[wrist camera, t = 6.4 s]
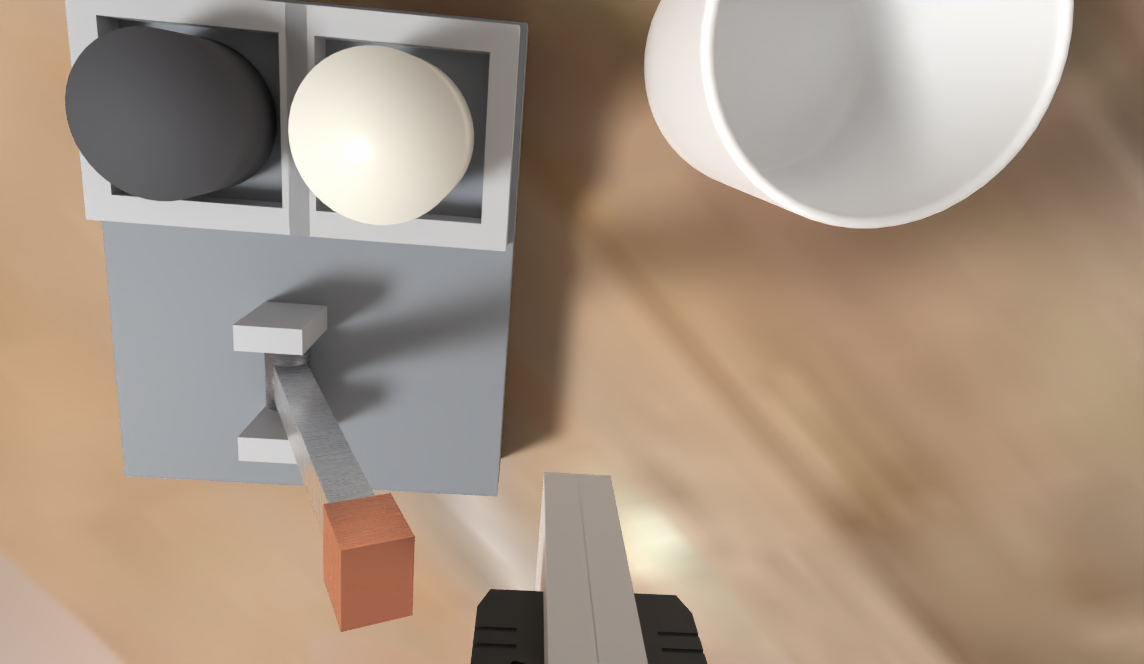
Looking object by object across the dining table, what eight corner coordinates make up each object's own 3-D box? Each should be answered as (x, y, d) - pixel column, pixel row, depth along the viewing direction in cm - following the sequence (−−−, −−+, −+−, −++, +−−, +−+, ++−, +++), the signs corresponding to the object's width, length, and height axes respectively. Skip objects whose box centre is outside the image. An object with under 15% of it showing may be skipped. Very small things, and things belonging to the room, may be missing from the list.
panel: (132, -7, 25) (16, -39, 19) (528, 32, 26) (526, 11, 20) (165, 439, 29) (78, 517, 24) (500, 459, 30) (492, 538, 25)
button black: (119, 29, 22) (56, 18, 19) (275, 43, 22) (236, 34, 19) (131, 183, 23) (74, 194, 20) (278, 194, 23) (242, 207, 20)
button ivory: (320, 46, 21) (286, 36, 18) (477, 60, 21) (468, 54, 19) (321, 203, 22) (289, 218, 20) (470, 215, 23) (461, 231, 20)
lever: (261, 343, 25) (340, 548, 14) (306, 340, 25) (414, 534, 15) (263, 398, 25) (340, 634, 15) (307, 393, 26) (412, 617, 15)
